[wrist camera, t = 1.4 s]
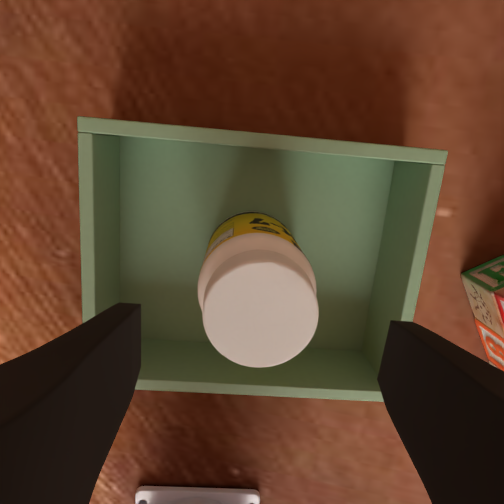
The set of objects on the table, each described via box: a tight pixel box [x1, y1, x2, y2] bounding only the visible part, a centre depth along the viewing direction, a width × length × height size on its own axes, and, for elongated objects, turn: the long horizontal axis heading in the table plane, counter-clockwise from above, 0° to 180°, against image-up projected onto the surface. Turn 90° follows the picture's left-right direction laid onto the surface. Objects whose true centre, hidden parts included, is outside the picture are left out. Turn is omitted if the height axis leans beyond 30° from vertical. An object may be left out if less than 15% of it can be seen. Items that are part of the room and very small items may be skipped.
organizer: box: [77, 116, 448, 402], centre depth 20 cm, size 12×15×4 cm
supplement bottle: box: [198, 211, 319, 367], centre depth 17 cm, size 5×5×8 cm
